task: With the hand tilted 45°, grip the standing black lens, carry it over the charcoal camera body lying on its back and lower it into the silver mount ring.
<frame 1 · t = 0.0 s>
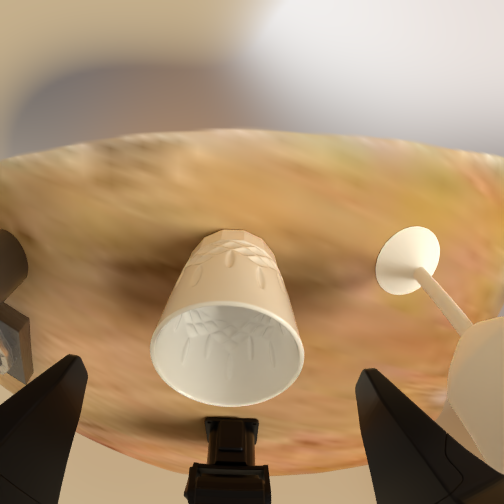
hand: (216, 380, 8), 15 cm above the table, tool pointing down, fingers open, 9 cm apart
white cup: (232, 267, 24), on the table
lens: (7, 257, 23), on the table
champagne flute: (408, 261, 24), on the table
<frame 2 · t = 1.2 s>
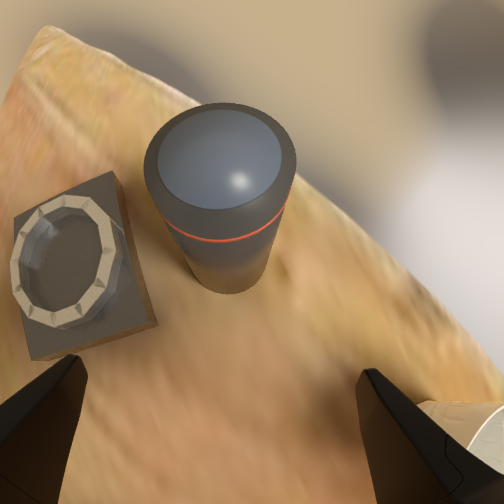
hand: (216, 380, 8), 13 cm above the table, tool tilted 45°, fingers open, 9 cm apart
white cup: (419, 435, 19), on the table
lens: (228, 256, 24), on the table
camera body: (79, 270, 23), on the table
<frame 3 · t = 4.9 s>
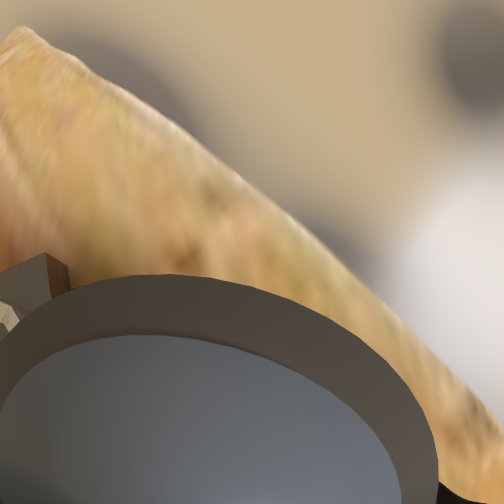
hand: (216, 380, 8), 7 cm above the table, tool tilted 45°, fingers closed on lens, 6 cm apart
lens: (225, 394, 14), on the table, touching gripper
camera body: (24, 387, 13), on the table
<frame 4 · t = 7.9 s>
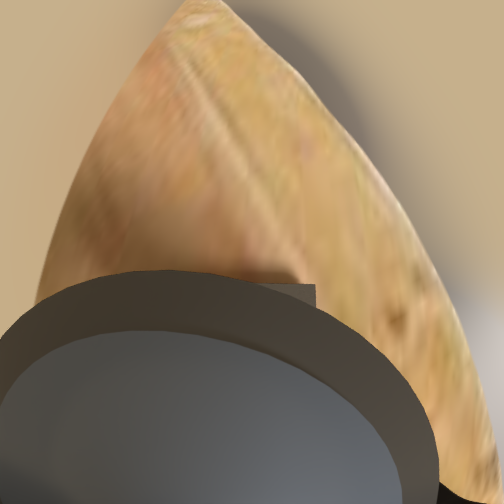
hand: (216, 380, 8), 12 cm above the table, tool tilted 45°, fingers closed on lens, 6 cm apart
lens: (225, 394, 14), point 6 cm above the table, touching gripper
camera body: (228, 381, 20), on the table
when the fingers open (10 cm above the table, at t = 9.5 s): lens stays where it is, resting on camera body.
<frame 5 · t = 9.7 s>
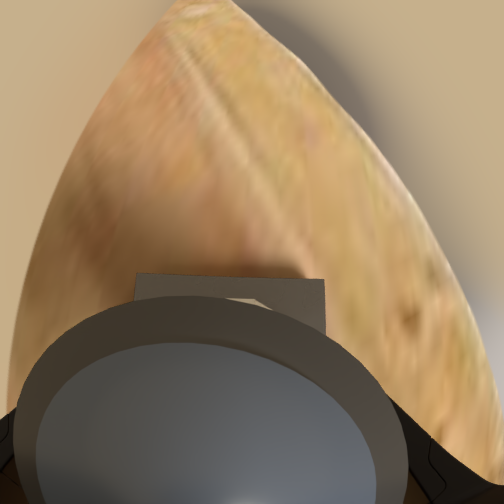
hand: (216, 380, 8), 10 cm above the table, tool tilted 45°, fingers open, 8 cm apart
lens: (225, 394, 15), point 3 cm above the table, touching camera body
camera body: (227, 387, 17), on the table
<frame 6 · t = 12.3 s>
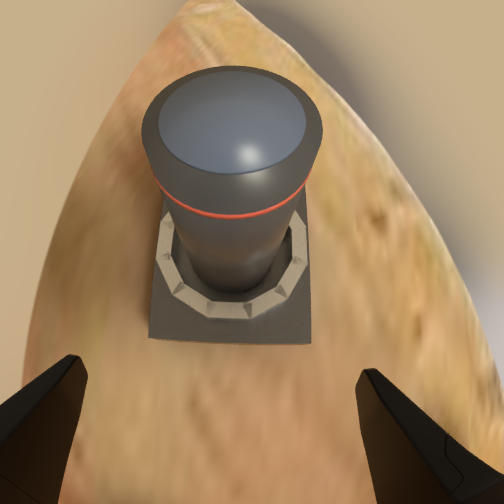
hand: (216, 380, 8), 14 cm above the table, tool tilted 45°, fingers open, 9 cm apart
lens: (231, 250, 21), point 3 cm above the table, touching camera body
camera body: (232, 260, 24), on the table
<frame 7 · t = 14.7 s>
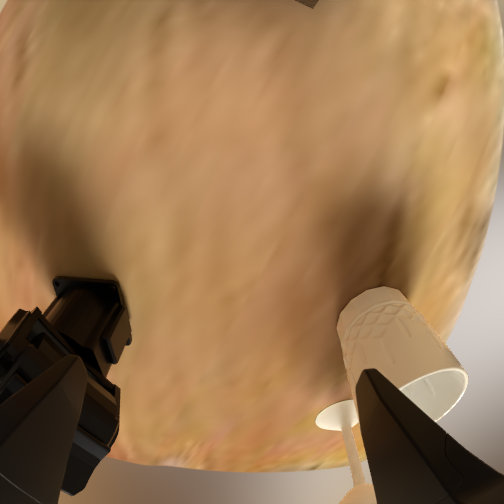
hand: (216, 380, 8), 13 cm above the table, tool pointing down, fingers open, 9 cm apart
white cup: (372, 317, 24), on the table
champagne flute: (342, 414, 31), on the table
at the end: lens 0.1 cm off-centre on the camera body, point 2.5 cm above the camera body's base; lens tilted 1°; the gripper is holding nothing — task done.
